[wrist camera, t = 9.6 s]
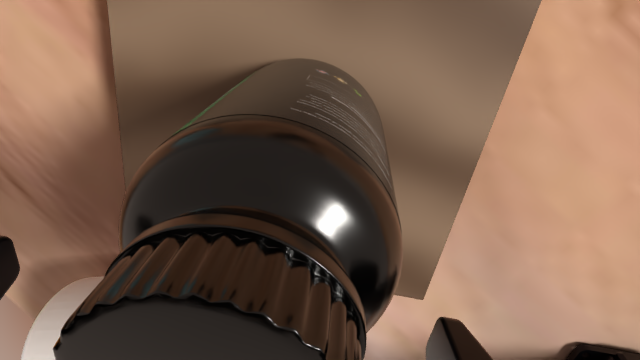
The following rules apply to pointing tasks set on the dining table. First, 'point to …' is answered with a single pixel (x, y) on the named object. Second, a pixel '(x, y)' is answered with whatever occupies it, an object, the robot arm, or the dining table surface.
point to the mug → (56, 318)
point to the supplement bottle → (253, 231)
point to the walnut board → (352, 57)
